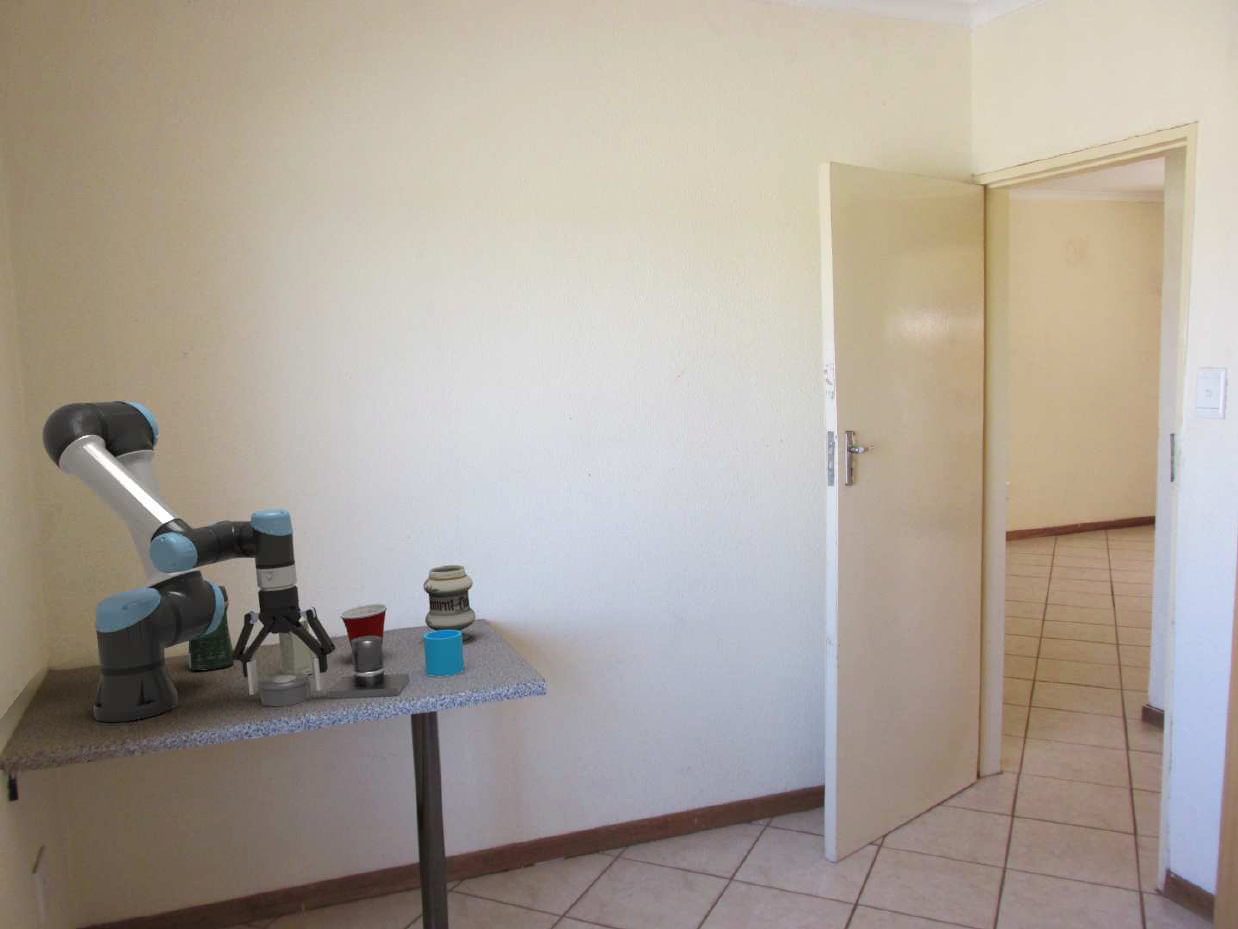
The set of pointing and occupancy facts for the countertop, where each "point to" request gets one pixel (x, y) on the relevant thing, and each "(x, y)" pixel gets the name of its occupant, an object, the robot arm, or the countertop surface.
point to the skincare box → (295, 652)
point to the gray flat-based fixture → (368, 673)
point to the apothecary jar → (449, 599)
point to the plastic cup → (364, 621)
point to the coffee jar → (213, 645)
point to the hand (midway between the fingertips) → (287, 690)
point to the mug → (443, 652)
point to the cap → (285, 689)
